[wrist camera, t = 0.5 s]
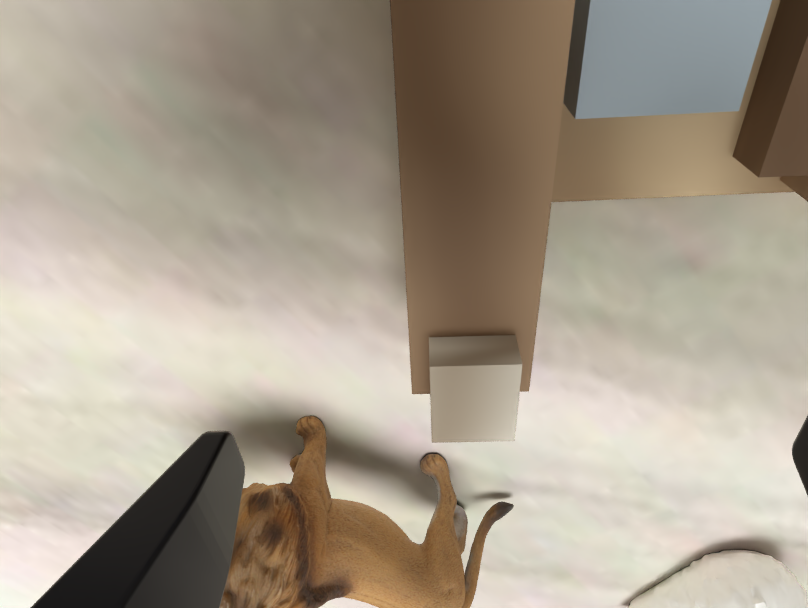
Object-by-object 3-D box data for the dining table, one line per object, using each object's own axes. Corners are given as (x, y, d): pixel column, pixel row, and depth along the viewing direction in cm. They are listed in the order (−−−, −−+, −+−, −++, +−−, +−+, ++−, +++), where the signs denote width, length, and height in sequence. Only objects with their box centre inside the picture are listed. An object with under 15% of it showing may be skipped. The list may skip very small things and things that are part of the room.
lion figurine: (209, 465, 27) (133, 677, 19) (222, 391, 24) (138, 609, 16) (491, 522, 29) (517, 729, 22) (535, 461, 26) (582, 678, 19)
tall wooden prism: (532, -57, 14) (597, -33, 9) (505, 312, 21) (533, 440, 16) (395, -50, 14) (386, -22, 9) (413, 314, 21) (413, 442, 16)
